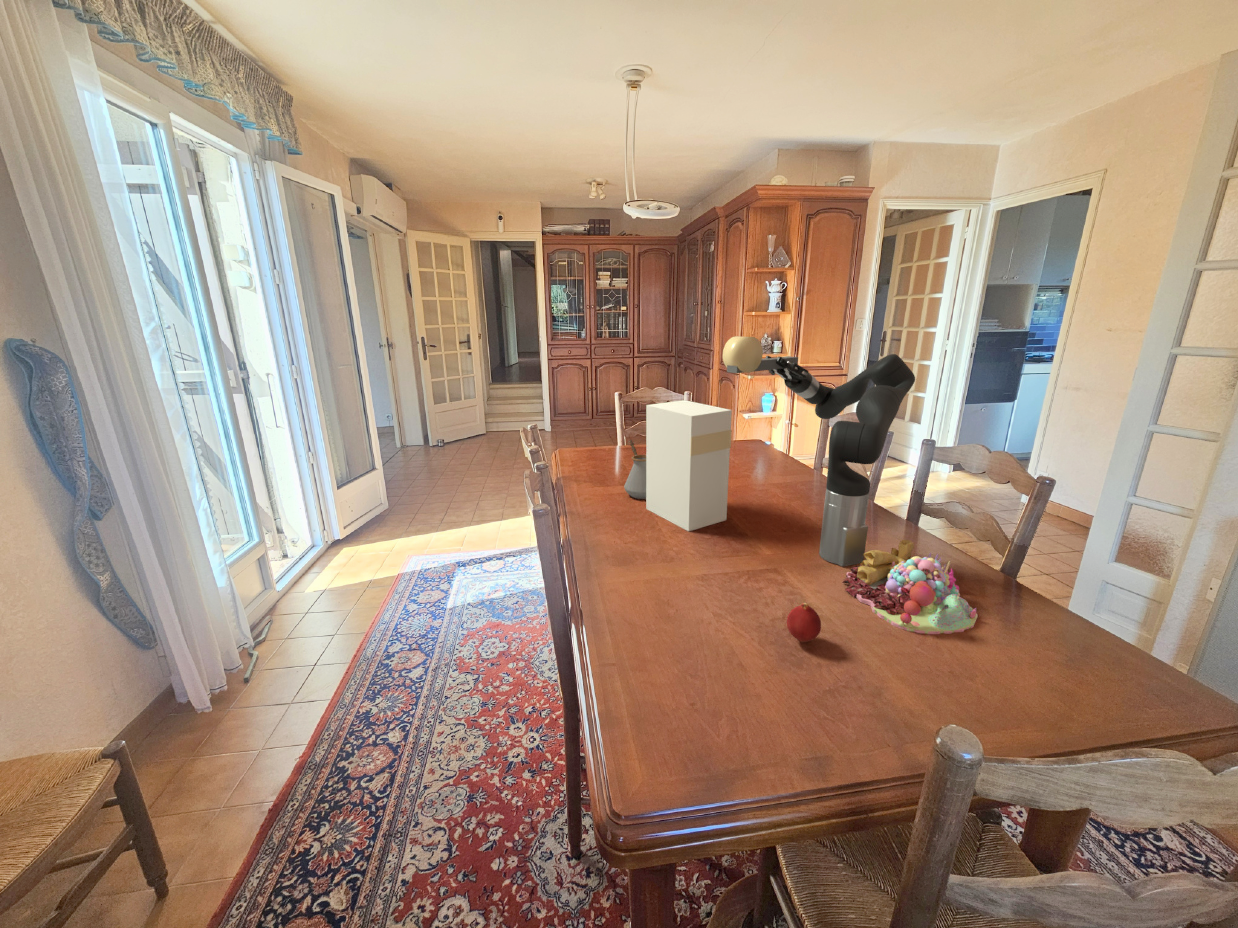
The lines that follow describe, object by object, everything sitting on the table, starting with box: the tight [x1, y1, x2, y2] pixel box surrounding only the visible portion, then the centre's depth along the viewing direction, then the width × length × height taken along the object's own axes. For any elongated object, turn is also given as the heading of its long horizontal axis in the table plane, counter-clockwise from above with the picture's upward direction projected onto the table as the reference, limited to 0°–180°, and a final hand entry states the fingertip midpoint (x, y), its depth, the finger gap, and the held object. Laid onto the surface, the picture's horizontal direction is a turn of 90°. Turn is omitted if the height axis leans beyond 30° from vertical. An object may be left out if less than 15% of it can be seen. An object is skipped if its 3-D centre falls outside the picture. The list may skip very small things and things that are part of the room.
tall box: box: [645, 399, 733, 532], centre depth 146 cm, size 14×20×32 cm
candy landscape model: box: [841, 539, 979, 635], centre depth 104 cm, size 25×24×9 cm
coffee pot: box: [623, 439, 646, 500], centre depth 169 cm, size 21×12×15 cm, turn 12°
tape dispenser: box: [722, 335, 799, 374], centre depth 152 cm, size 27×6×10 cm, turn 122°
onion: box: [786, 602, 822, 644], centre depth 91 cm, size 6×6×8 cm
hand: (772, 359), depth 154 cm, fingers closed on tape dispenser, 4 cm apart
